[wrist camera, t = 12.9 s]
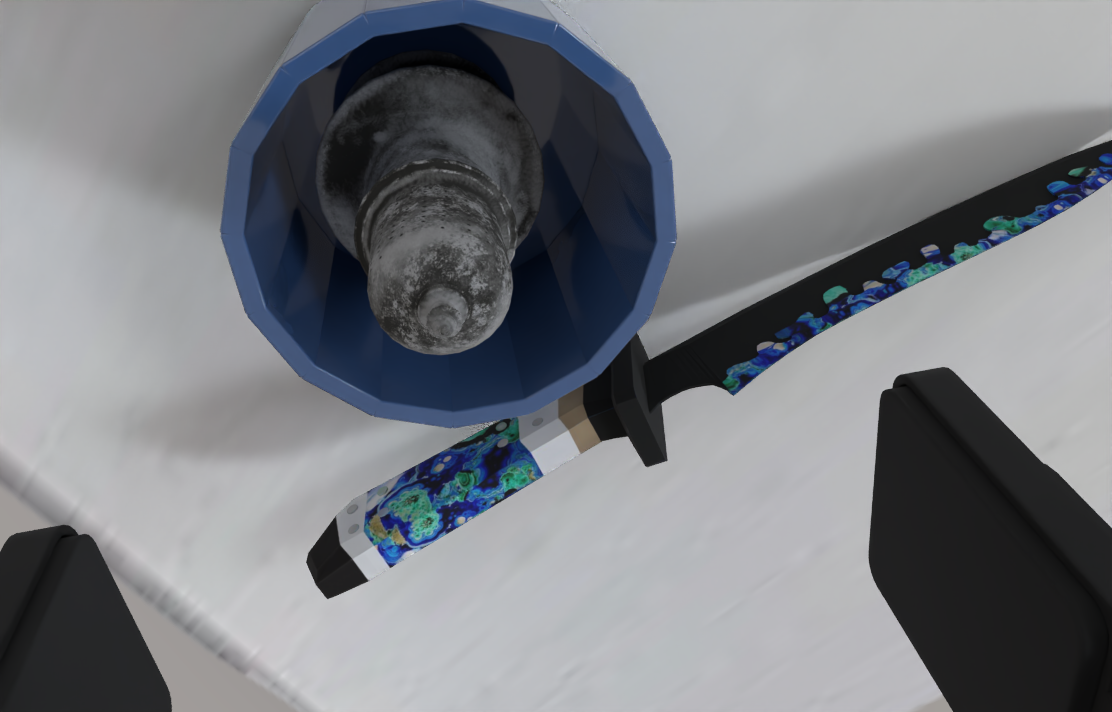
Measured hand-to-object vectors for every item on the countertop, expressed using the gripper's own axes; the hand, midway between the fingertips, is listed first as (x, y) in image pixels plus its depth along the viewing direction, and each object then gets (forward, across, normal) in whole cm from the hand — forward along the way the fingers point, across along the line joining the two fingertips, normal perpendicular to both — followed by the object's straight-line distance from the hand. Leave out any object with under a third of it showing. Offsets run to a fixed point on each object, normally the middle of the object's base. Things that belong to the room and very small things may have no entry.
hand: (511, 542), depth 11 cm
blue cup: (+19, 0, +1) cm, 19 cm away
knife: (+19, -8, +8) cm, 22 cm away
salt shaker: (+19, +1, +1) cm, 19 cm away
